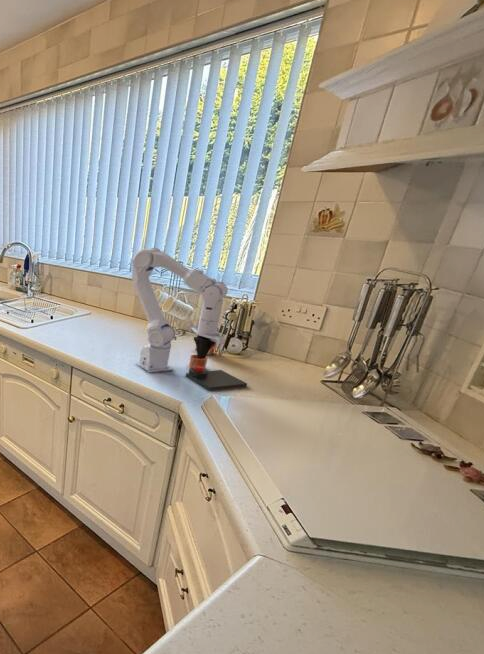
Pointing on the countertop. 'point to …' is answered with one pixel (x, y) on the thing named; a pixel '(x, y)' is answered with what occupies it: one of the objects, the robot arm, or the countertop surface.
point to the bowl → (197, 361)
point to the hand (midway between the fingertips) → (201, 357)
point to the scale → (215, 379)
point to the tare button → (198, 368)
